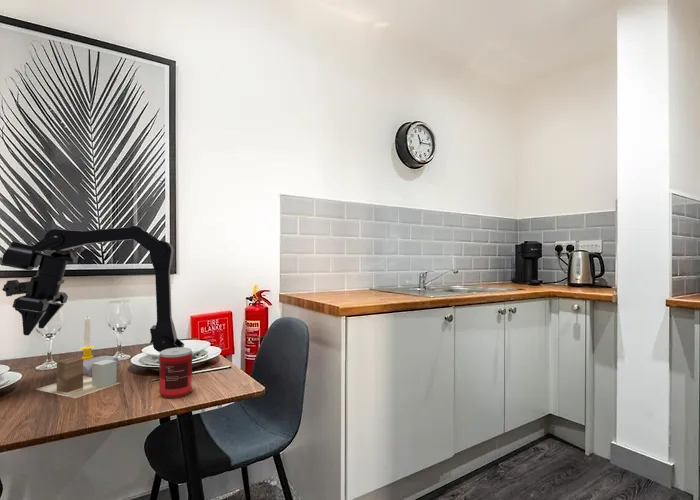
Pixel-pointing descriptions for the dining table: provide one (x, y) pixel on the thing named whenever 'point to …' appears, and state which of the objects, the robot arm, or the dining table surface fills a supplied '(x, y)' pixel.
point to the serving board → (86, 390)
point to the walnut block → (69, 376)
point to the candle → (87, 341)
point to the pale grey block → (104, 373)
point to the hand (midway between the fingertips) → (33, 331)
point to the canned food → (175, 372)
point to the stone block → (88, 363)
